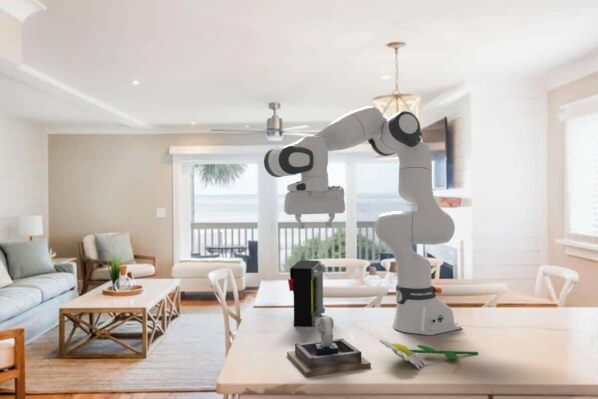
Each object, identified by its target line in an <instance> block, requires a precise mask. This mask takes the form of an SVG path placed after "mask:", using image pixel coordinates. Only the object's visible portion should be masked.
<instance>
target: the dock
mask: <svg viewBox="0 0 598 399" xmlns="http://www.w3.org/2000/svg"><path fill="white" fill-rule="evenodd" d="M333 343H335V344H336V345H337V347H338V354H331V355H323V356H316V346H315V344H322V342H321V340H320V341H319V340H318V341H311V342H304V343H295V345H294V350H291V351H286V356H287V357H288V359H289V360H290V361H291V362H292V363H293V365H295V366H296V367H297V368H298V370H299V371H300V372H301V373H302V374H303V375H304V376H305V378H307V377H314V376H321V375H329V373H330V374H335V373H336V372H337V373H342V372H350V371H357V370H365V369H369V368H371V367H372V364H371V361H369V360H368V359H366V358H364V357H363V356H362V351H360V350H359V349H358V348H357V347H355V346H353V345H352V344H350V343H349V342H348V341H347V340H345V339H344V338H335V339H334V338H333Z"/></svg>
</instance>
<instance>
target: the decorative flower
mask: <svg viewBox="0 0 598 399" xmlns="http://www.w3.org/2000/svg"><path fill="white" fill-rule="evenodd" d="M379 343H381V344H382V345H384V346H385V347H386V348H389V349H390V350H391V351H392V352H393V353H394V354H395V355H396V356H398V357H399V358H401V359H404V360H405V361H406V362H407V361H409V363H410V364H412V365H414V366H415V367H416V368H417V369H418V370H420V368H423V367H424V366H423V364H425V362H424V361H423V360H422V359H421V358H420V356H418V354H439V355H440V354H442V355H444V356H445V357H447V359H450V360H455V359H457V358H458V355H479V352H478V351H464V350H463V351H459V350H436V349H435V348H432V347H430V346H427V345H421V344H418V345H416V346H417V348H419V349H409V348H408V347H406V346H405V345H403V344H401V343H396V342H395V343H391V342H389V341H387V340H383V339H379Z"/></svg>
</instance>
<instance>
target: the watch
mask: <svg viewBox="0 0 598 399" xmlns="http://www.w3.org/2000/svg"><path fill="white" fill-rule="evenodd" d="M334 323H335V322H334V318H332V317H331V316H329V315H328V316H326V315H324V316H321V317H319V319H318V320H317V321H316V323H315V325H314V327H316V329H317V330H318V334H319V335H320V341H321V342H322V344H315V346H316V356H323V355H331V354H338V347H337V345H336V344H335V343H333V340H334V334H333V330H334V329H333V327H334V325H335V324H334Z"/></svg>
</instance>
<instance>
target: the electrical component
mask: <svg viewBox="0 0 598 399" xmlns="http://www.w3.org/2000/svg"><path fill="white" fill-rule="evenodd" d="M325 267H326V266H325V264H324V263H322V262H321V261H320V260H305V259H304V260H301V259H300V260H299V261H297V262H296V263H295V264H294V265H292V266H291V267H290V268H289V277H290V278H289V279H287V283H288V288H289V291H290V292H291V291H292V293H293V327H296V328H297V327H300V328H313V327H315V323H316V321H317V320H318V319H319V318H320V316H321V315H322V314H325V313H326V308H325V306H324V283H323V282H324V277H323V275H324V274H323V273H324V272H323V271H324V270H325Z"/></svg>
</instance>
